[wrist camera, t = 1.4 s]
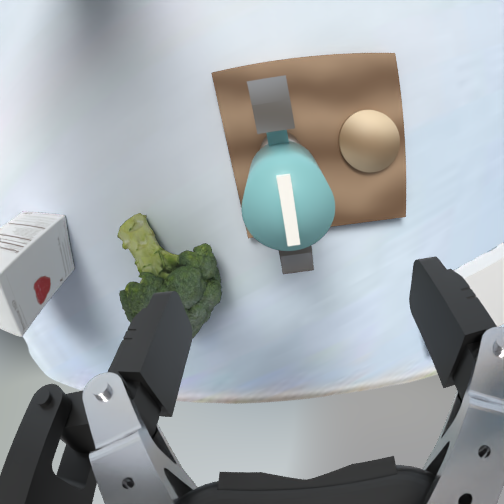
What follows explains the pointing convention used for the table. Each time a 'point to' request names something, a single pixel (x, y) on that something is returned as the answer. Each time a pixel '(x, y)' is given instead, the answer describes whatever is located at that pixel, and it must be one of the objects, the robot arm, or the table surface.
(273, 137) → the teal rounded body
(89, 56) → the table surface
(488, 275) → the food packaging
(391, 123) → the board with gray uprights
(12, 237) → the supplement box
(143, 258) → the vegetable
